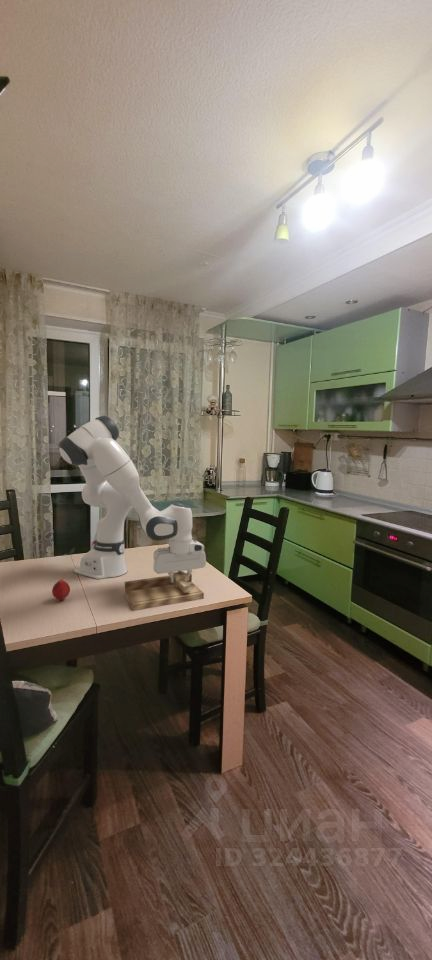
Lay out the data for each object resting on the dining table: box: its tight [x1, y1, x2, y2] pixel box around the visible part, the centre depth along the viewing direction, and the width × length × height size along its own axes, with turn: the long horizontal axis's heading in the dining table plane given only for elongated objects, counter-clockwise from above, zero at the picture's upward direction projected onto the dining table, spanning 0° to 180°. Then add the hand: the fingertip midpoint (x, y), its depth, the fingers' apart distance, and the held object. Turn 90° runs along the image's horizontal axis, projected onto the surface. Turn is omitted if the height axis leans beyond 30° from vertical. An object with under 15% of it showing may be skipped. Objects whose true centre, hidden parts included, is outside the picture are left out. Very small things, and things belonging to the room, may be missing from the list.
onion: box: [51, 578, 71, 601], centre depth 135 cm, size 6×6×8 cm
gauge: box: [173, 570, 191, 593], centre depth 142 cm, size 4×10×5 cm, turn 26°
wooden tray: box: [124, 572, 205, 611], centre depth 141 cm, size 26×14×5 cm, turn 116°
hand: (179, 581), depth 145 cm, fingers closed on gauge, 4 cm apart
